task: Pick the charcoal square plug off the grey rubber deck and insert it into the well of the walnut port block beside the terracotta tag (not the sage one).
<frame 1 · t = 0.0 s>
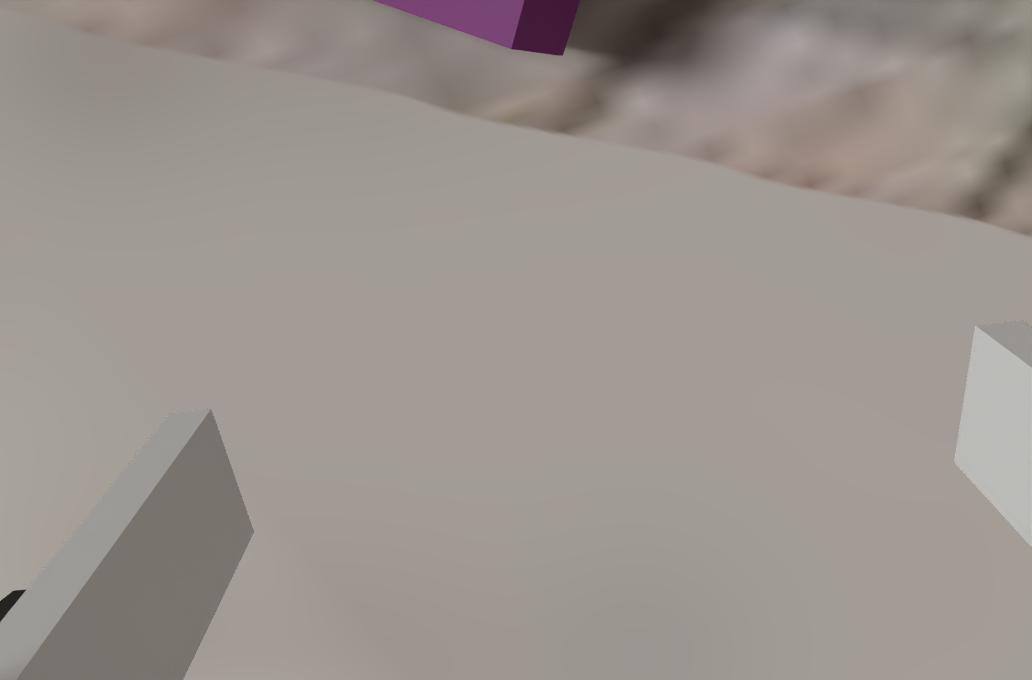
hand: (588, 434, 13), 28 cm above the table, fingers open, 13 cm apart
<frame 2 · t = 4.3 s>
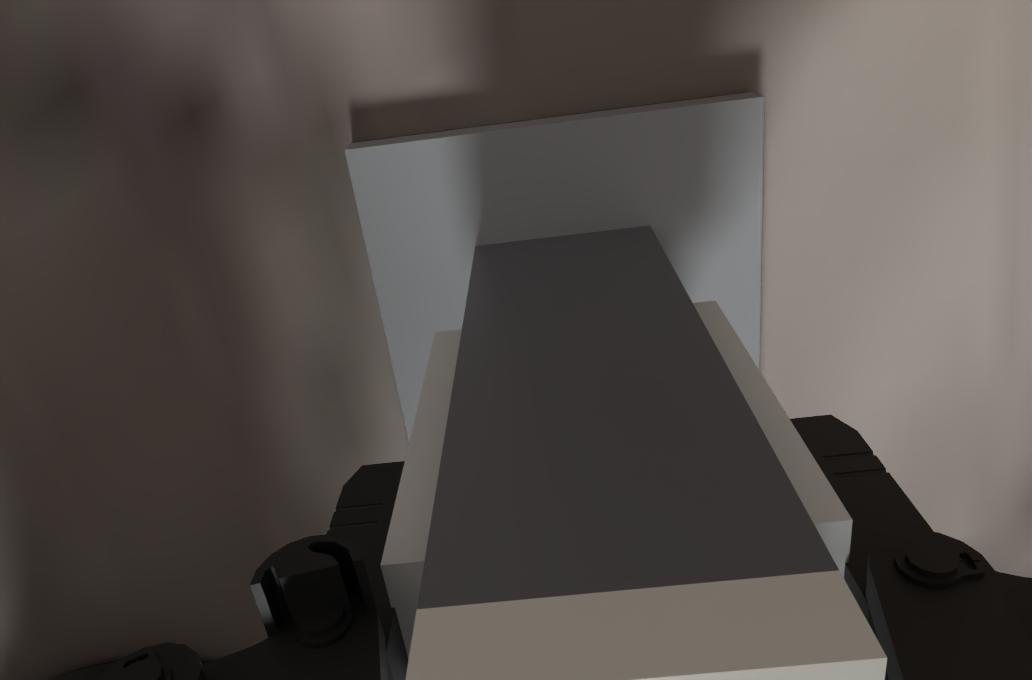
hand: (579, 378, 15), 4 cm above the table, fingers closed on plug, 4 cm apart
deck: (568, 302, 19), on the table
plug: (570, 315, 18), point 1 cm above the table, touching deck, gripper
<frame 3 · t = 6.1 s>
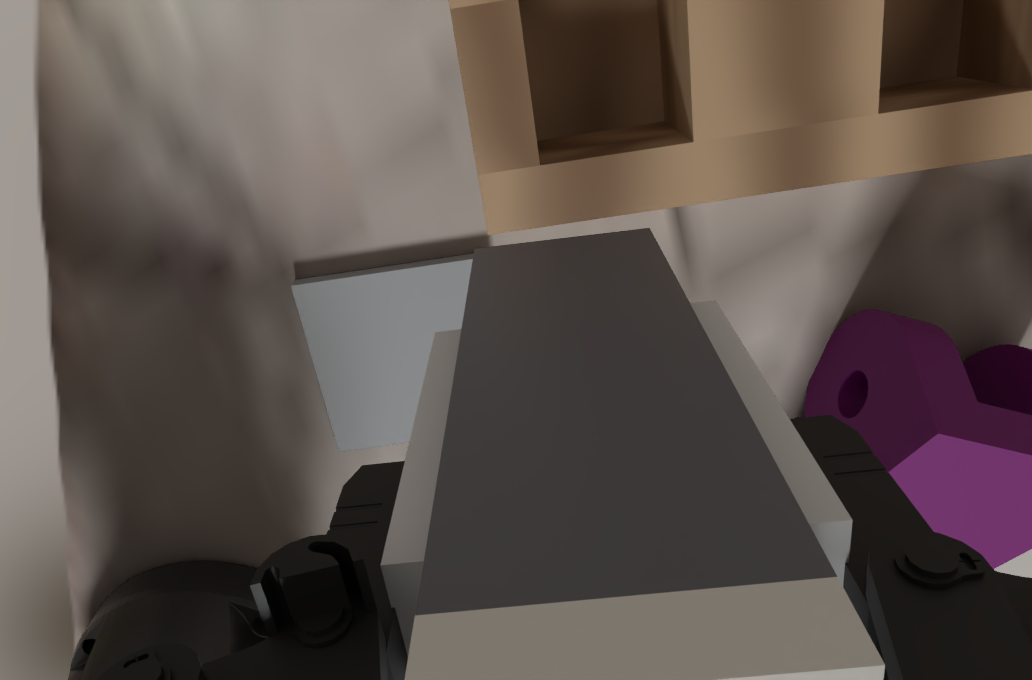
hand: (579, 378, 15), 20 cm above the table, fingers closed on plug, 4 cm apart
port block: (734, 37, 31), on the table
deck: (410, 352, 36), on the table
plug: (569, 318, 18), point 16 cm above the table, touching gripper
mounting bracket: (855, 461, 40), on the table
when the fingers open (8 cm above the table, at t = 8.3 s): plug drops 4 cm, resting on port block.
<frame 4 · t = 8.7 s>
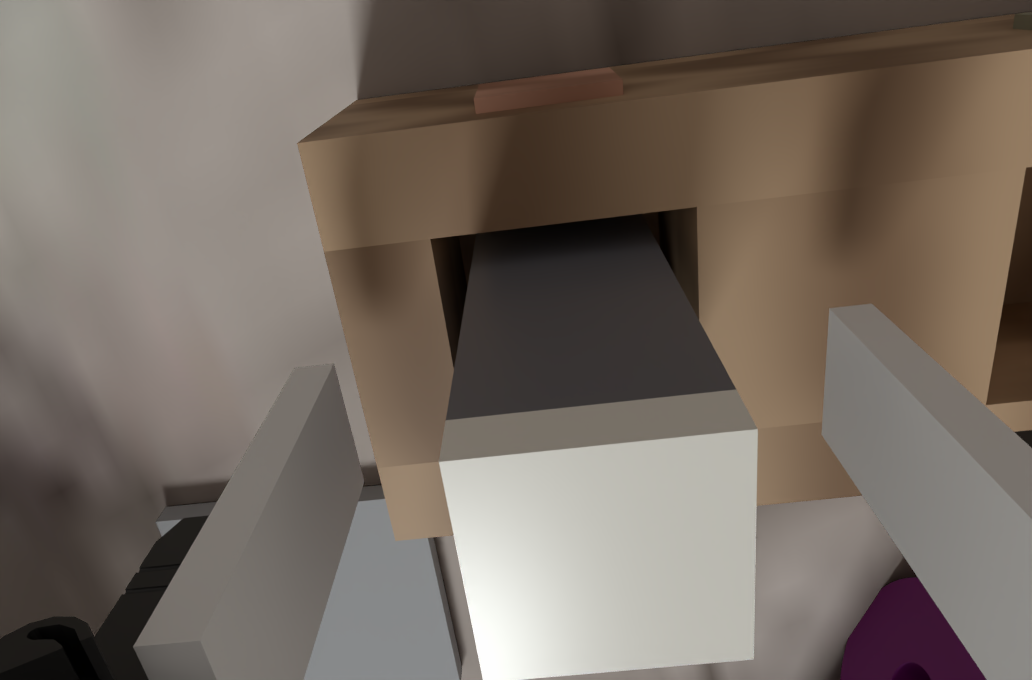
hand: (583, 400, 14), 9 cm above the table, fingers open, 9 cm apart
port block: (766, 229, 22), on the table
deck: (322, 592, 28), on the table
plug: (561, 266, 21), point 1 cm above the table, touching port block
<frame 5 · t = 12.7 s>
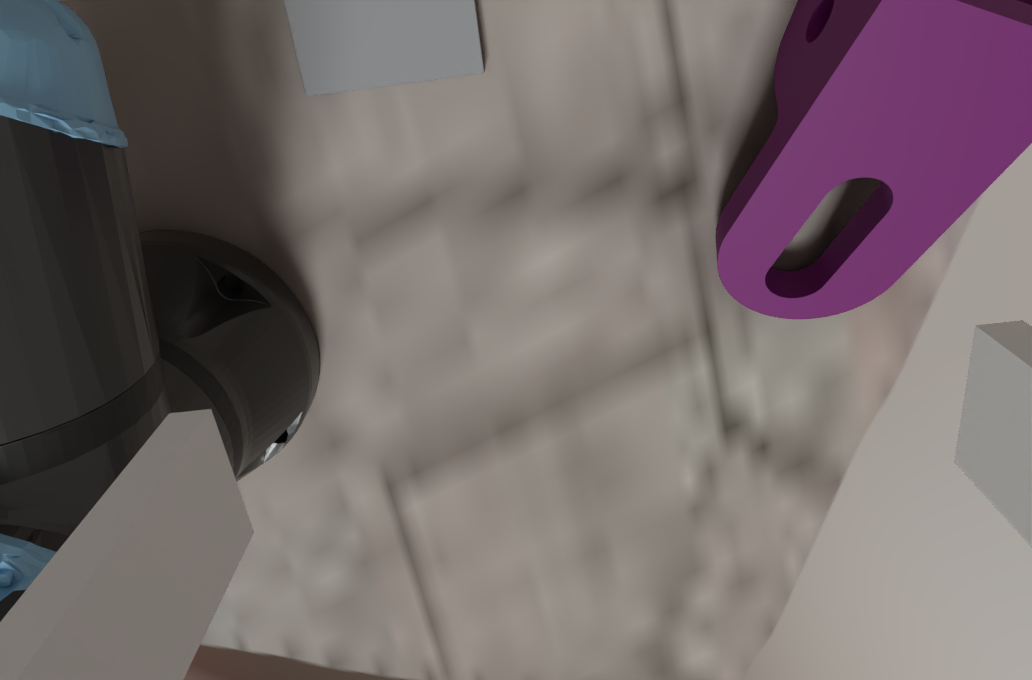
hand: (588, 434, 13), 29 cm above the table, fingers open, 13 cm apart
mounting bracket: (827, 145, 40), on the table
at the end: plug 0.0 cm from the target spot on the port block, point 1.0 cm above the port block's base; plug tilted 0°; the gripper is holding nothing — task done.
